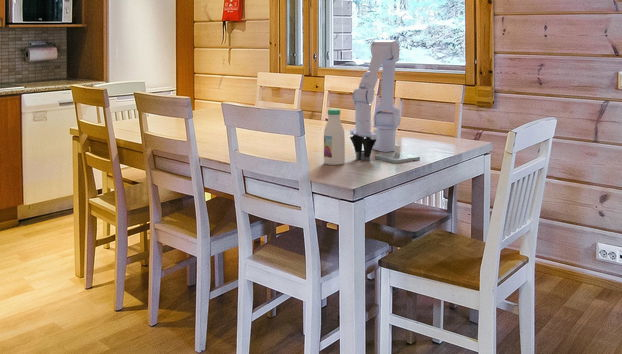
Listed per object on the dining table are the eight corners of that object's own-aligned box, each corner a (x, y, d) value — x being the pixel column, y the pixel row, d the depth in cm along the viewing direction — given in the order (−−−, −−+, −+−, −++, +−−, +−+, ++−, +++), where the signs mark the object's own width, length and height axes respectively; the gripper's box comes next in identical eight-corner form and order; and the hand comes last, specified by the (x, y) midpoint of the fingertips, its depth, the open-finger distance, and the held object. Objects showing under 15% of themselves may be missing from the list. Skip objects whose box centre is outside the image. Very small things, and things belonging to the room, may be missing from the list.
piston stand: (375, 158, 247) (375, 144, 246) (399, 154, 253) (399, 141, 252) (394, 163, 237) (394, 149, 236) (419, 159, 243) (420, 146, 242)
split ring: (353, 159, 246) (353, 151, 246) (364, 157, 249) (364, 149, 248) (361, 161, 242) (361, 153, 241) (372, 159, 245) (372, 151, 244)
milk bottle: (343, 161, 243) (343, 108, 238) (345, 165, 235) (345, 110, 231) (323, 161, 242) (322, 108, 238) (324, 165, 235) (324, 111, 231)
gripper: (343, 118, 246) (343, 153, 249) (365, 123, 234) (365, 159, 237) (358, 117, 250) (358, 151, 253) (381, 121, 237) (380, 157, 241)
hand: (362, 155), depth 245 cm, fingers closed on split ring, 5 cm apart
